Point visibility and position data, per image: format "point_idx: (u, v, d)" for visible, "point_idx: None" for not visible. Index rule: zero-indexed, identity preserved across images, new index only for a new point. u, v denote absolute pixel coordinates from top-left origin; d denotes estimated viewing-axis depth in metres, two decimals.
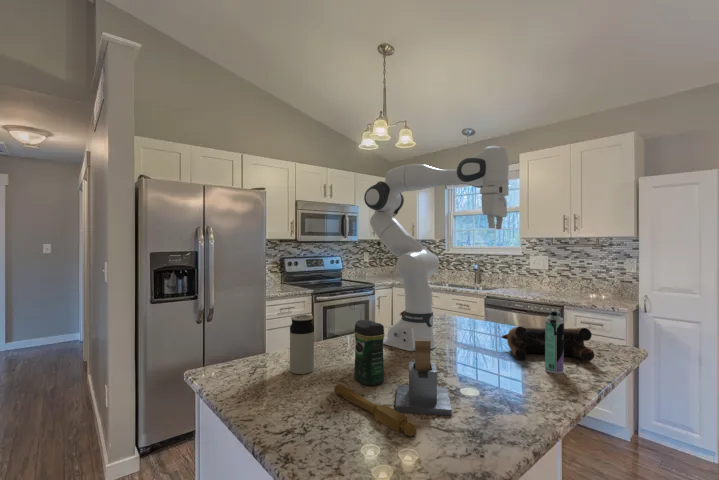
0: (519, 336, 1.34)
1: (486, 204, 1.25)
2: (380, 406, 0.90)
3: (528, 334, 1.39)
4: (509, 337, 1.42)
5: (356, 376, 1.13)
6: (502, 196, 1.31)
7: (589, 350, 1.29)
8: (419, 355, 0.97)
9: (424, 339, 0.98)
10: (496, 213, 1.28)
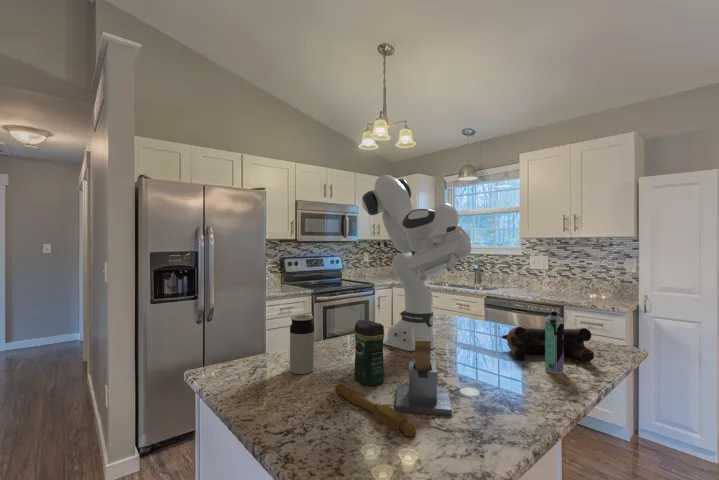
0: (518, 336, 1.34)
1: (466, 242, 1.04)
2: (380, 406, 0.90)
3: (528, 334, 1.38)
4: (509, 337, 1.42)
5: (356, 376, 1.13)
6: None
7: (589, 350, 1.29)
8: (419, 355, 0.97)
9: (424, 339, 0.98)
10: None
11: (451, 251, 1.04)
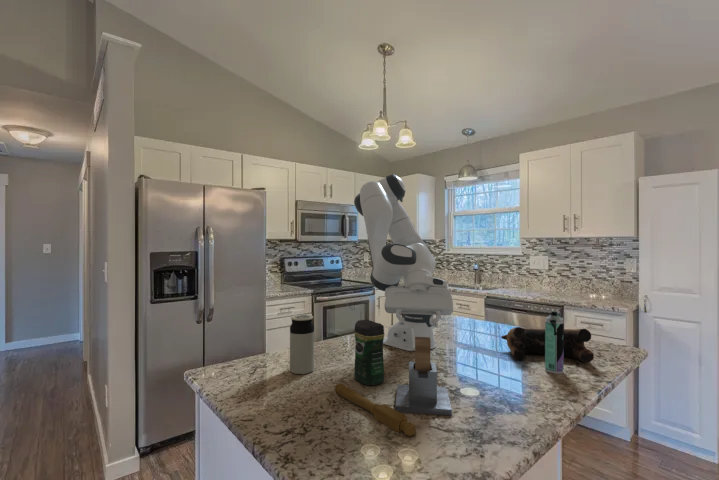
0: (517, 337, 1.34)
1: None
2: (380, 406, 0.90)
3: (527, 335, 1.38)
4: (508, 337, 1.42)
5: (356, 376, 1.13)
6: None
7: (589, 351, 1.28)
8: (419, 355, 0.97)
9: (424, 339, 0.98)
10: None
11: (439, 307, 1.06)
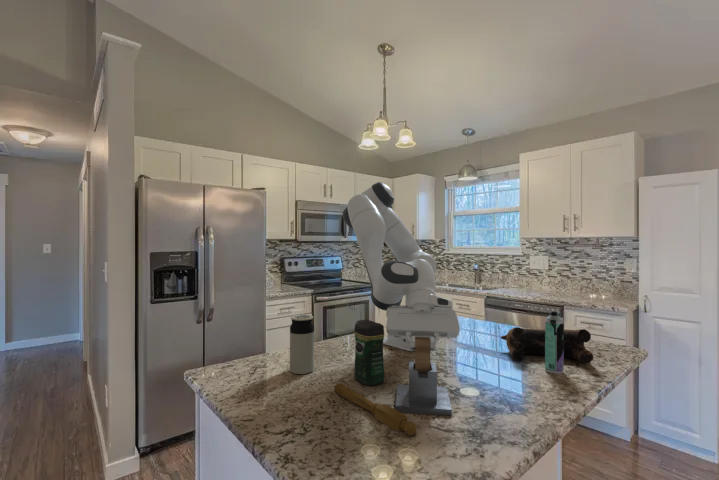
0: (516, 337, 1.33)
1: None
2: (380, 405, 0.90)
3: (526, 335, 1.37)
4: (507, 338, 1.41)
5: (356, 376, 1.13)
6: None
7: (588, 352, 1.27)
8: (419, 355, 0.97)
9: (424, 339, 0.98)
10: None
11: (444, 330, 1.00)
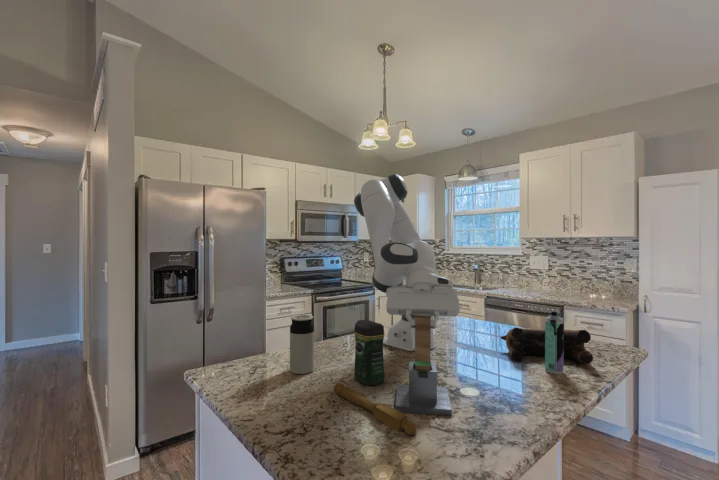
0: (515, 337, 1.33)
1: None
2: (380, 405, 0.90)
3: (526, 335, 1.37)
4: (507, 338, 1.41)
5: (356, 376, 1.13)
6: None
7: (588, 353, 1.26)
8: (420, 333, 0.97)
9: (424, 317, 0.98)
10: None
11: (444, 308, 1.00)
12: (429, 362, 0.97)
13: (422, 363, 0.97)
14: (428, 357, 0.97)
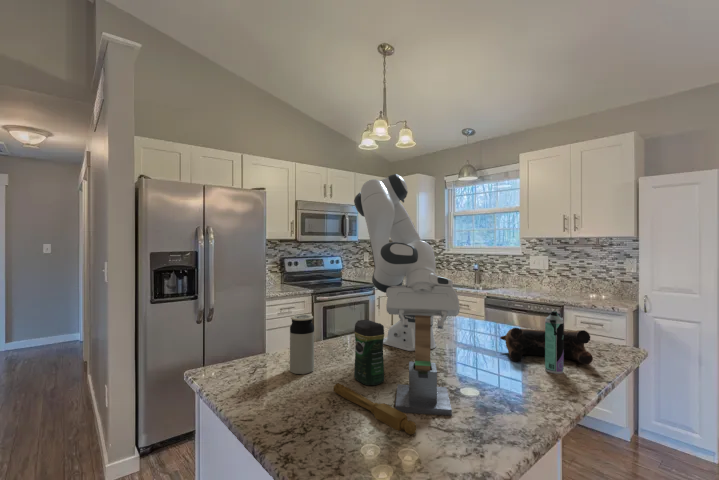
0: (515, 337, 1.33)
1: None
2: (380, 405, 0.91)
3: (525, 336, 1.37)
4: (506, 338, 1.41)
5: (356, 376, 1.13)
6: None
7: (587, 353, 1.25)
8: (420, 333, 0.97)
9: (424, 317, 0.98)
10: None
11: (444, 308, 1.00)
12: (429, 362, 0.97)
13: (422, 363, 0.97)
14: (428, 357, 0.97)
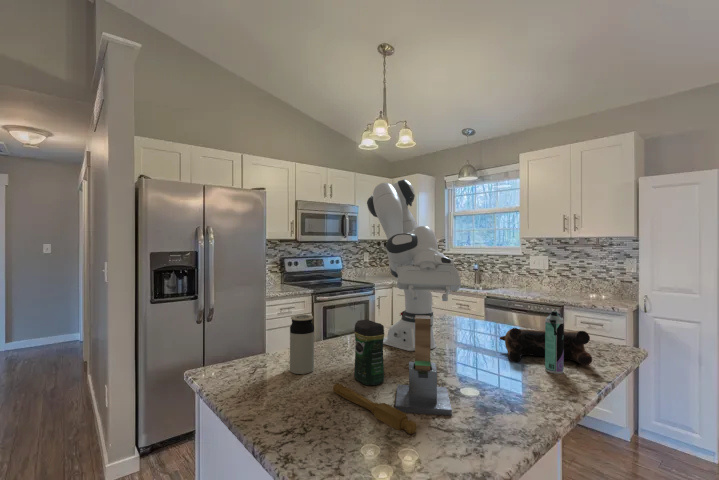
0: (513, 338, 1.32)
1: None
2: (380, 404, 0.91)
3: (525, 336, 1.36)
4: (506, 338, 1.40)
5: (356, 376, 1.13)
6: None
7: (587, 354, 1.25)
8: (420, 333, 0.97)
9: (424, 317, 0.98)
10: None
11: (448, 283, 1.15)
12: (429, 362, 0.97)
13: (422, 363, 0.97)
14: (428, 357, 0.97)
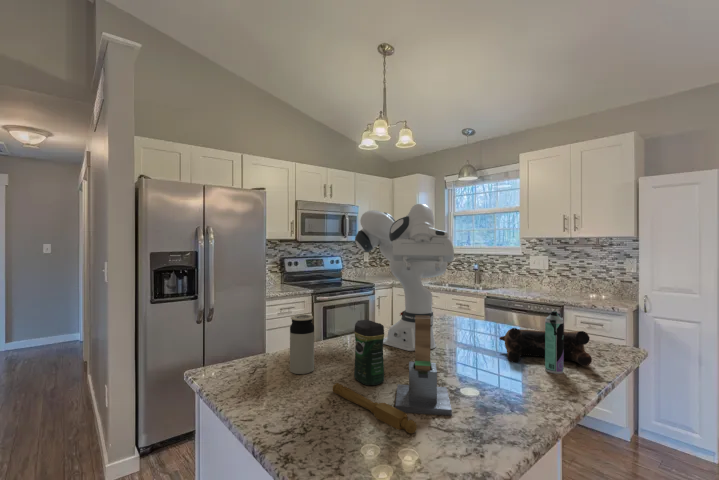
0: (513, 338, 1.32)
1: None
2: (380, 404, 0.91)
3: (524, 336, 1.36)
4: (505, 339, 1.40)
5: (356, 376, 1.13)
6: None
7: (586, 354, 1.24)
8: (420, 333, 0.97)
9: (424, 317, 0.98)
10: None
11: (441, 254, 1.18)
12: (429, 362, 0.97)
13: (422, 363, 0.97)
14: (428, 357, 0.97)
